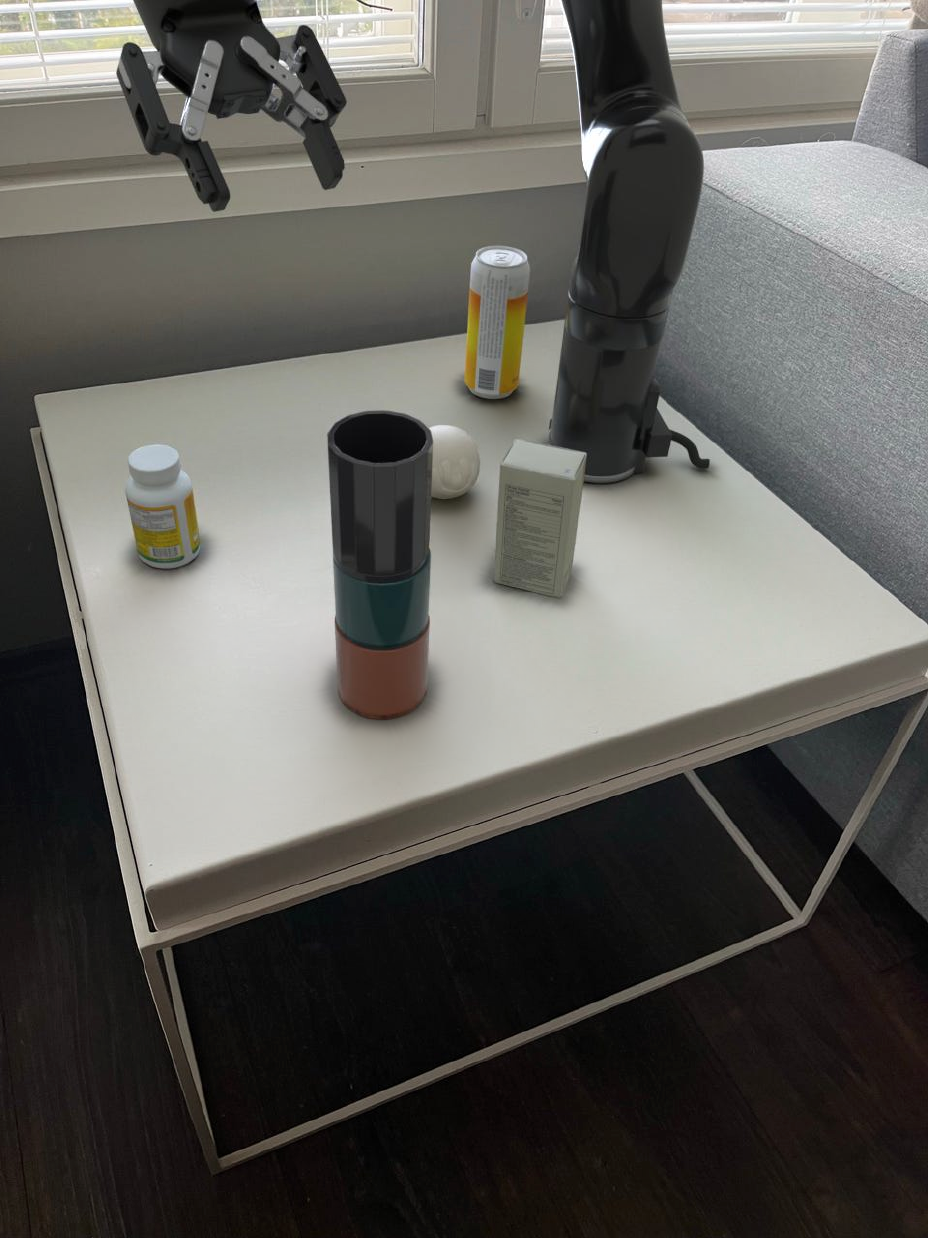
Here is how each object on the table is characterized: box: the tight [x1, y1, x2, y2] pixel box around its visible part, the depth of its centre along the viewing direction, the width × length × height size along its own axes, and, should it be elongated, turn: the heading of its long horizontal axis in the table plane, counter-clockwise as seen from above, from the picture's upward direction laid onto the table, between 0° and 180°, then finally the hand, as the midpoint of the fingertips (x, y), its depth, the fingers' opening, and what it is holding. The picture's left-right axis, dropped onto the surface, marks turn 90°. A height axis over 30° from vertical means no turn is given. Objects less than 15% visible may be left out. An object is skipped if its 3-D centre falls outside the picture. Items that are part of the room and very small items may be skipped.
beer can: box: [463, 245, 531, 400], centre depth 104 cm, size 6×6×15 cm
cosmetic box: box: [492, 438, 587, 598], centre depth 81 cm, size 6×4×12 cm
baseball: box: [428, 424, 481, 500], centre depth 91 cm, size 7×7×7 cm
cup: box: [326, 409, 433, 583], centre depth 62 cm, size 6×6×9 cm
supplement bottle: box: [124, 444, 202, 570], centre depth 82 cm, size 5×5×10 cm
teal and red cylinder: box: [332, 547, 432, 720], centre depth 70 cm, size 7×7×13 cm
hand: (280, 193), depth 65 cm, fingers open, 8 cm apart
